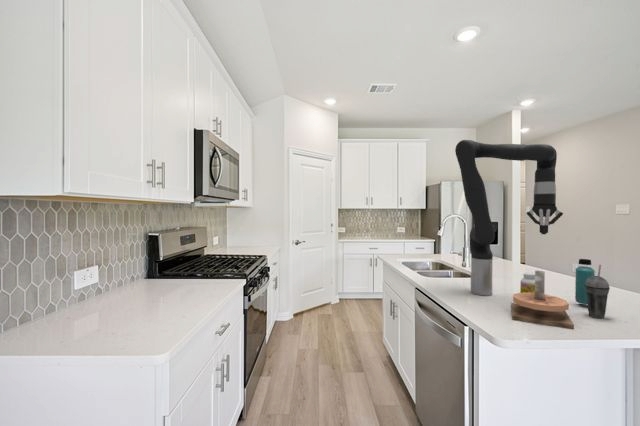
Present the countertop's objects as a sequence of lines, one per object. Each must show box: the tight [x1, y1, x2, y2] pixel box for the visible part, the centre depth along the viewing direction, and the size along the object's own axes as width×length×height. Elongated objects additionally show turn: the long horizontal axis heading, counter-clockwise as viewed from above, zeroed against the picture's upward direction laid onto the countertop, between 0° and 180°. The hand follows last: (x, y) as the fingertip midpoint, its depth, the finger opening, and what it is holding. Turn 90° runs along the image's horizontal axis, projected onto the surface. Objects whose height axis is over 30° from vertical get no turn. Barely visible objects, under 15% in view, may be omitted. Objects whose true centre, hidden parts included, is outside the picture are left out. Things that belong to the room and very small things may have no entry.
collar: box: [512, 292, 570, 311], centre depth 119 cm, size 17×17×2 cm
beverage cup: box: [585, 264, 610, 320], centre depth 119 cm, size 7×7×20 cm
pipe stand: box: [510, 270, 575, 330], centre depth 119 cm, size 18×18×18 cm
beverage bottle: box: [574, 258, 596, 306], centre depth 131 cm, size 6×7×20 cm
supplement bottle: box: [519, 272, 535, 293], centre depth 136 cm, size 7×7×13 cm
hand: (543, 234), depth 130 cm, fingers closed
